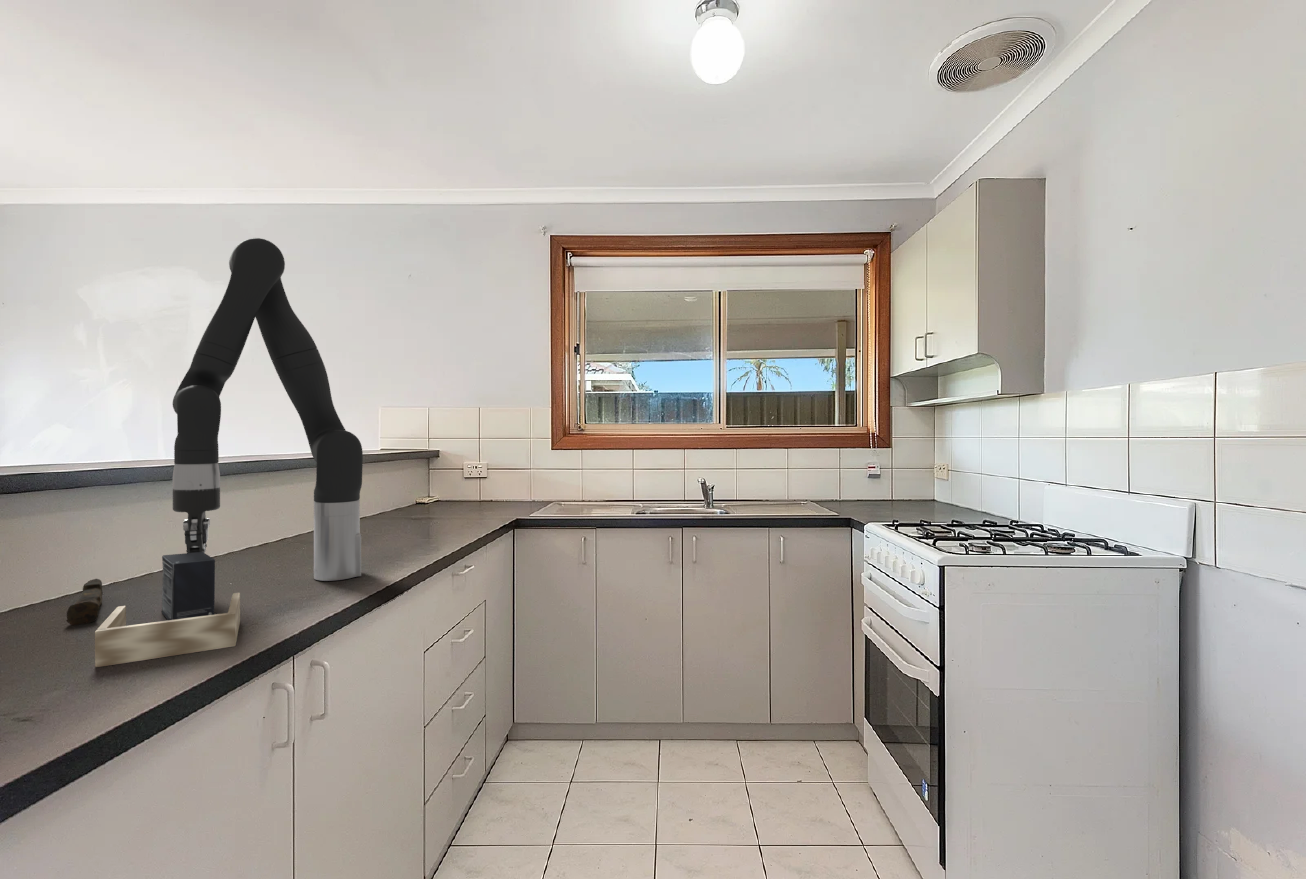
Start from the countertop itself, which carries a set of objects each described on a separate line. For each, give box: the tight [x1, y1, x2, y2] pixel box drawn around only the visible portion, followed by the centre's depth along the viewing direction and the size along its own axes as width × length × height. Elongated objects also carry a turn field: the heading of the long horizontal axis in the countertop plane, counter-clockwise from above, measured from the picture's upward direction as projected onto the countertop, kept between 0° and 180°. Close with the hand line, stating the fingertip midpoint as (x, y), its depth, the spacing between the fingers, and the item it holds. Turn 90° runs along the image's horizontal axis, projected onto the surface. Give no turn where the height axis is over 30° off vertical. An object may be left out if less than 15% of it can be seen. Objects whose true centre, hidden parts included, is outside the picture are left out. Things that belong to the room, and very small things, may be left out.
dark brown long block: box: [66, 578, 103, 626], centre depth 110 cm, size 19×4×5 cm, turn 36°
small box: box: [160, 552, 216, 621], centre depth 107 cm, size 11×6×10 cm, turn 47°
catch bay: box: [94, 592, 241, 668], centre depth 93 cm, size 16×14×5 cm
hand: (196, 573), depth 119 cm, fingers closed
